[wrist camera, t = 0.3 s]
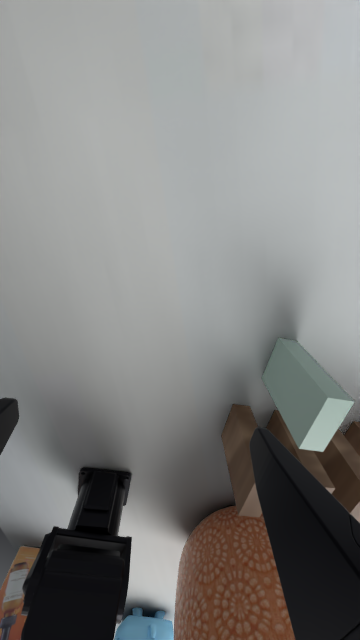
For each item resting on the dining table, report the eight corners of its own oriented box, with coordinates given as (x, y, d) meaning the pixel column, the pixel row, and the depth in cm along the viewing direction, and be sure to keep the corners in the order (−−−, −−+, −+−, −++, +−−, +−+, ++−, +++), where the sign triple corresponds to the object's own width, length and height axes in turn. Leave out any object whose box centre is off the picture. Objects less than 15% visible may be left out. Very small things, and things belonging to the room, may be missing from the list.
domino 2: (297, 341, 24) (354, 401, 17) (279, 380, 26) (323, 451, 19) (278, 337, 24) (327, 397, 16) (261, 378, 26) (298, 448, 18)
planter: (278, 564, 43) (349, 805, 26) (161, 556, 41) (152, 813, 23) (330, 491, 35) (488, 774, 17) (187, 476, 33) (203, 781, 15)
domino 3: (290, 412, 28) (335, 488, 21) (275, 442, 30) (310, 522, 23) (274, 409, 28) (313, 485, 20) (260, 440, 30) (290, 520, 22)
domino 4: (330, 417, 29) (388, 494, 21) (312, 447, 31) (359, 526, 23) (314, 415, 29) (367, 492, 21) (298, 445, 31) (340, 525, 23)
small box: (72, 549, 39) (39, 659, 30) (69, 566, 41) (38, 674, 32) (19, 544, 38) (-32, 656, 29) (20, 562, 40) (-28, 672, 31)
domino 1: (249, 406, 28) (279, 482, 20) (237, 437, 30) (259, 517, 22) (233, 403, 28) (256, 479, 20) (221, 435, 30) (238, 515, 22)
